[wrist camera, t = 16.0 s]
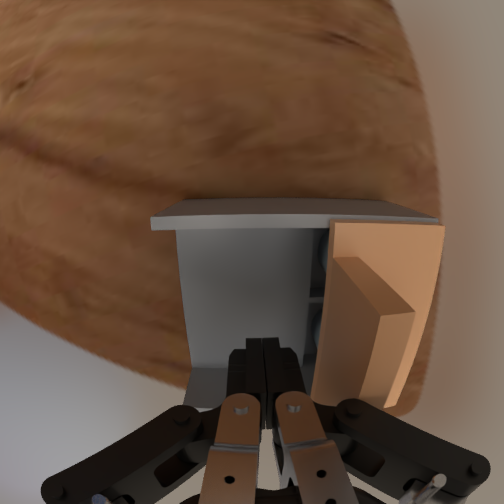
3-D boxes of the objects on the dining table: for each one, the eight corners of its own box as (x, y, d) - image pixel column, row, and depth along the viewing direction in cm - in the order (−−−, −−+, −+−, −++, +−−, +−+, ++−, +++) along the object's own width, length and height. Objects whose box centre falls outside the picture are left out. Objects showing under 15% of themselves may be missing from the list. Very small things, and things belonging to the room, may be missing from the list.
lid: (436, 222, 12) (517, 257, 6) (391, 397, 15) (422, 459, 10) (330, 218, 12) (390, 262, 6) (307, 410, 15) (322, 485, 10)
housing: (385, 200, 18) (438, 218, 12) (363, 347, 22) (391, 399, 16) (183, 199, 18) (150, 217, 12) (198, 353, 22) (184, 412, 16)
